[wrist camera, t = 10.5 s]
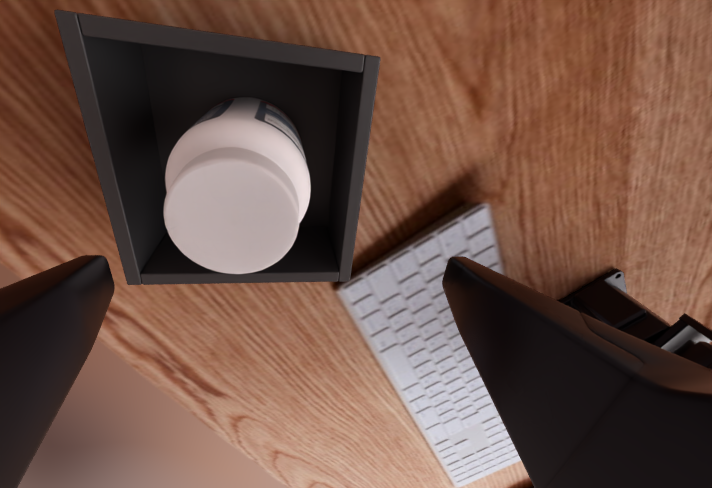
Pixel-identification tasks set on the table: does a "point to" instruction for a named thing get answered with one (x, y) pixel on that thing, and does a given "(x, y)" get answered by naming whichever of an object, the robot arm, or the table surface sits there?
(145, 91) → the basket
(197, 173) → the pill bottle
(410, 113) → the table surface
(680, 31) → the table surface
